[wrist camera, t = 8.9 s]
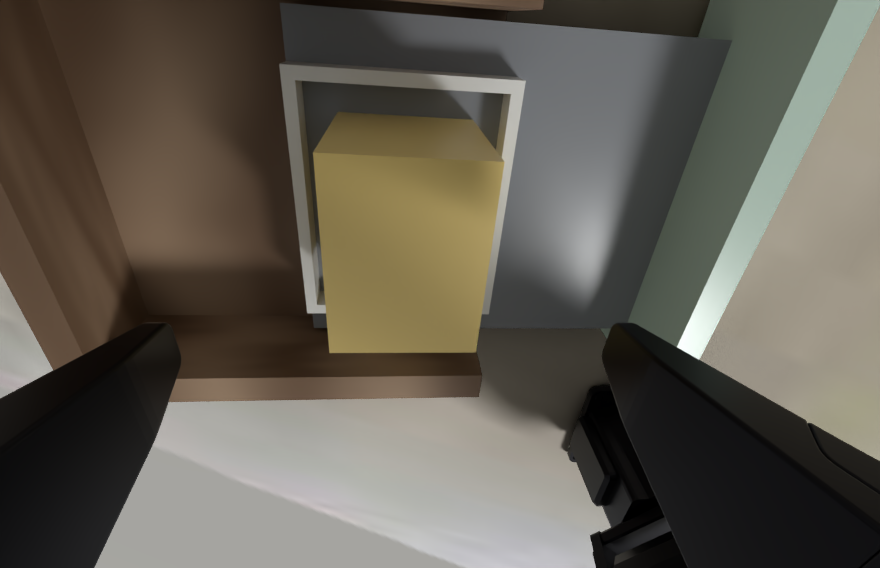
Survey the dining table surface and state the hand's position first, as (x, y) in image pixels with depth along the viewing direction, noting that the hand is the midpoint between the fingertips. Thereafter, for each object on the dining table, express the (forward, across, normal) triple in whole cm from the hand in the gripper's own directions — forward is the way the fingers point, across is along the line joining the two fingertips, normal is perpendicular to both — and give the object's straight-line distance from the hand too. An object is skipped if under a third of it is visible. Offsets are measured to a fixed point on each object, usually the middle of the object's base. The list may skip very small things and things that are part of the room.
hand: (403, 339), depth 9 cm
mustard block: (+8, 0, 0) cm, 8 cm away
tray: (+10, -4, 0) cm, 11 cm away
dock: (+10, +4, 0) cm, 11 cm away
